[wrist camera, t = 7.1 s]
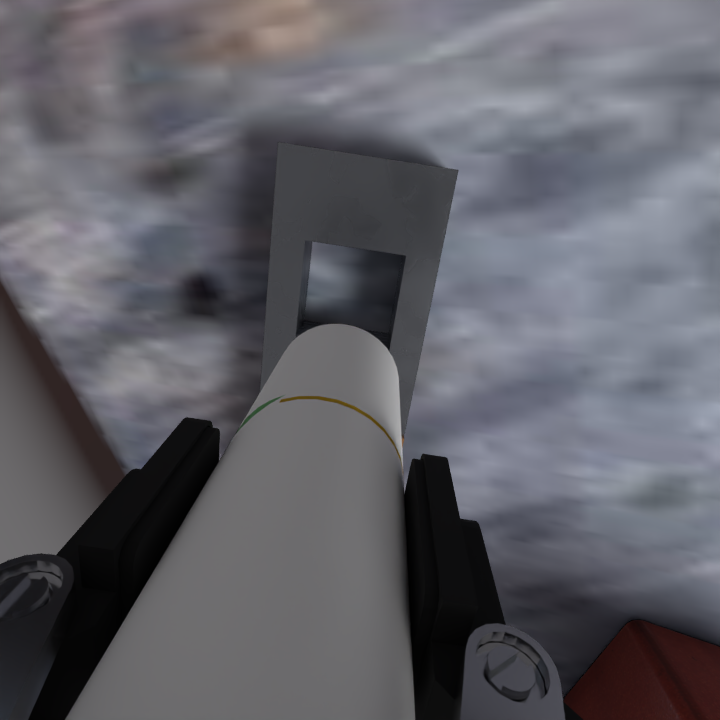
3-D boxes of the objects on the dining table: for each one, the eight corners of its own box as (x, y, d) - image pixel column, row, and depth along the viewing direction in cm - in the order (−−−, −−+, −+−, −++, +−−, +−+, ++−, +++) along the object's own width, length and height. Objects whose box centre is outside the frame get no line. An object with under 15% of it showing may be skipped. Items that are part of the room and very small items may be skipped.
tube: (380, 309, 16) (302, 1497, 2) (411, 420, 17) (518, 1555, 3) (260, 341, 16) (-548, 1379, 2) (300, 445, 18) (-38, 1475, 4)
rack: (289, 146, 29) (276, 141, 25) (449, 170, 29) (459, 170, 26) (258, 530, 40) (246, 564, 36) (375, 547, 40) (374, 583, 36)
